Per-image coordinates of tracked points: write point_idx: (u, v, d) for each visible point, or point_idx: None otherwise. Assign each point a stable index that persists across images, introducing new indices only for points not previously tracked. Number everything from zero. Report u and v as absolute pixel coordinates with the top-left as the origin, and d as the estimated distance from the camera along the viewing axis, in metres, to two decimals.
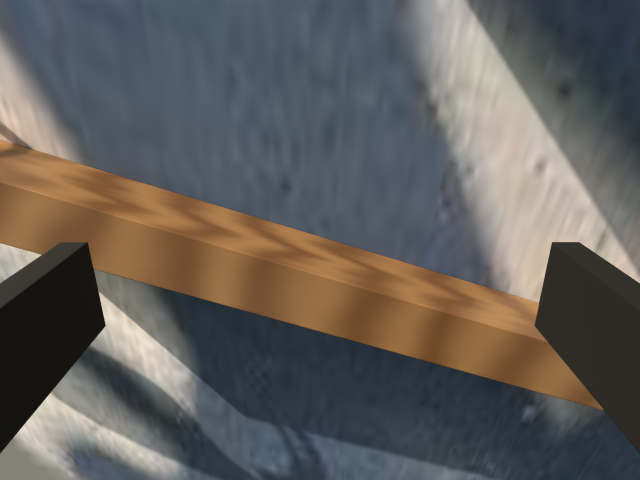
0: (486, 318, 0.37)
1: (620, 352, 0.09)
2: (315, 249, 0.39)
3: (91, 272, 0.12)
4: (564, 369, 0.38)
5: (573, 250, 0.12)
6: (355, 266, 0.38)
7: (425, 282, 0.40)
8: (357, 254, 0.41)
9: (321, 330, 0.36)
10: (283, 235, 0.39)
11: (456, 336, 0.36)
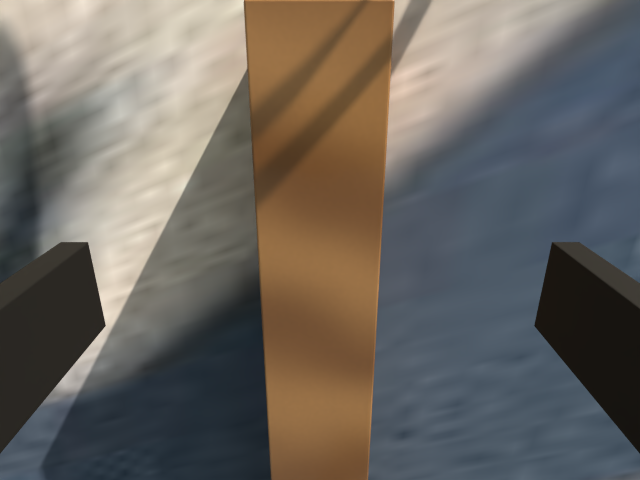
0: None
1: (620, 352, 0.09)
2: None
3: (91, 272, 0.12)
4: None
5: (573, 250, 0.12)
6: None
7: None
8: None
9: None
10: None
11: None
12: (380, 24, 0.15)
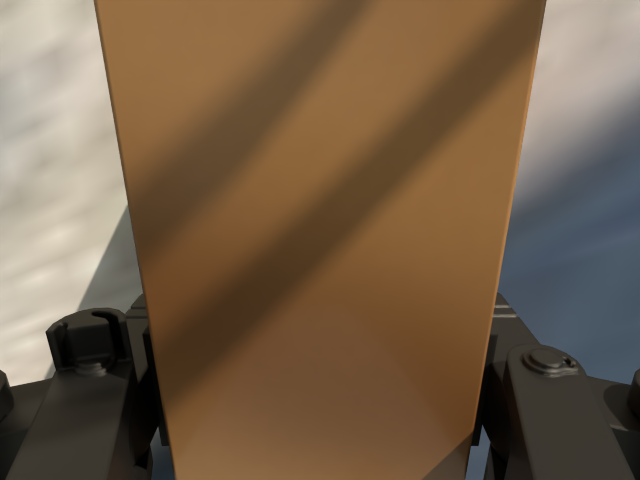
0: None
1: None
2: None
3: None
4: None
5: None
6: None
7: None
8: None
9: None
10: None
11: None
12: None
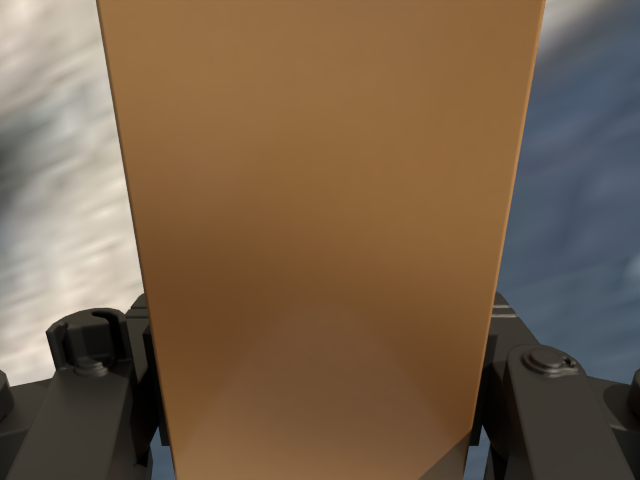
0: None
1: None
2: None
3: None
4: None
5: None
6: None
7: None
8: None
9: None
10: None
11: None
12: None
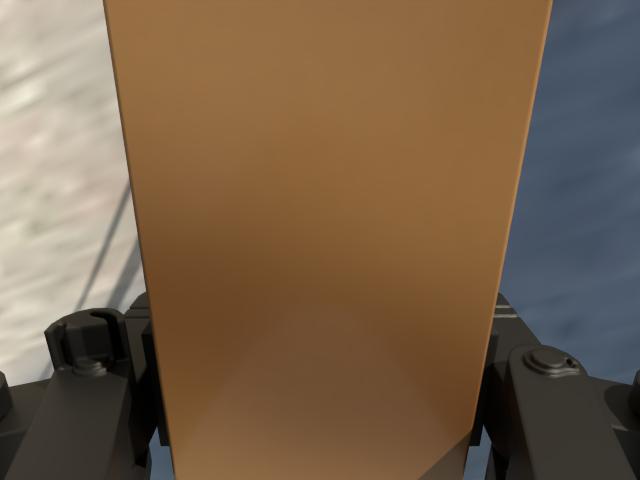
0: None
1: None
2: None
3: None
4: None
5: None
6: None
7: None
8: None
9: None
10: None
11: None
12: None
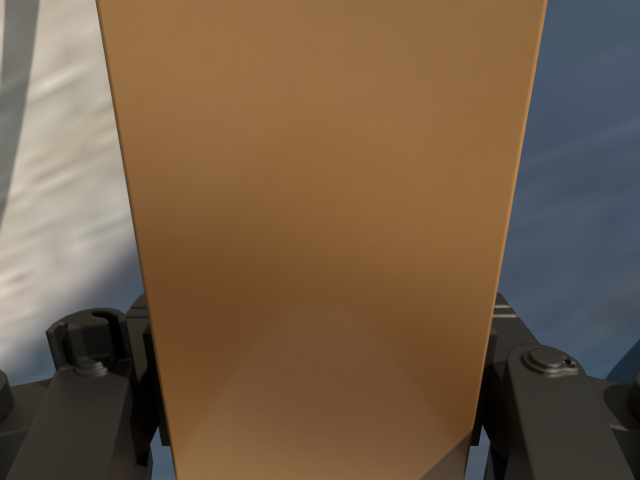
0: None
1: None
2: None
3: None
4: None
5: None
6: None
7: None
8: None
9: None
10: None
11: None
12: None
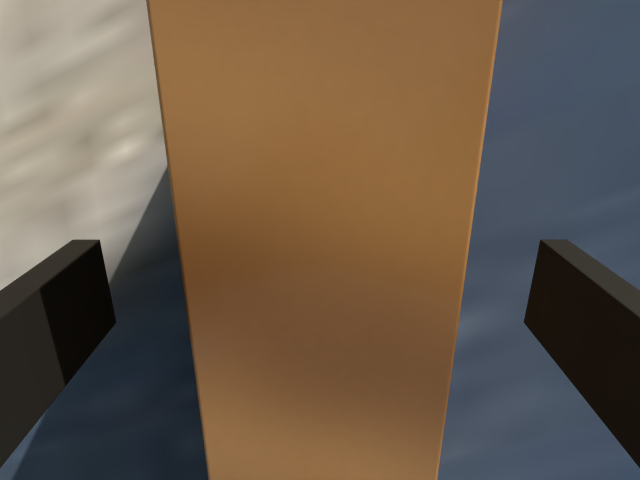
0: None
1: (604, 347, 0.10)
2: None
3: (102, 269, 0.12)
4: None
5: (560, 247, 0.12)
6: None
7: None
8: None
9: None
10: None
11: None
12: (473, 4, 0.06)
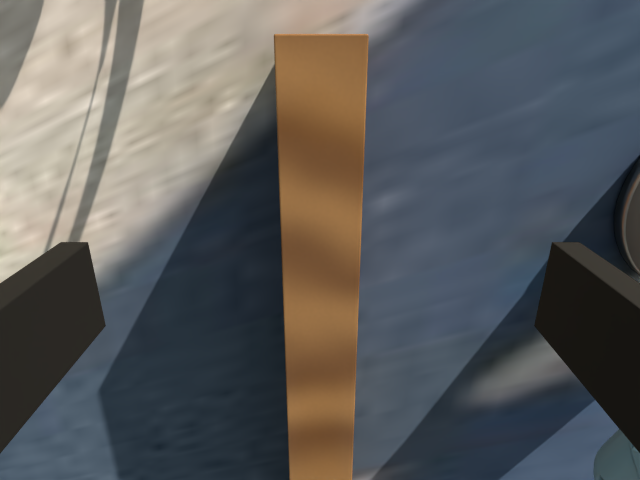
0: None
1: (620, 352, 0.09)
2: None
3: (91, 272, 0.12)
4: None
5: (573, 250, 0.12)
6: None
7: None
8: None
9: None
10: None
11: None
12: (359, 50, 0.23)
